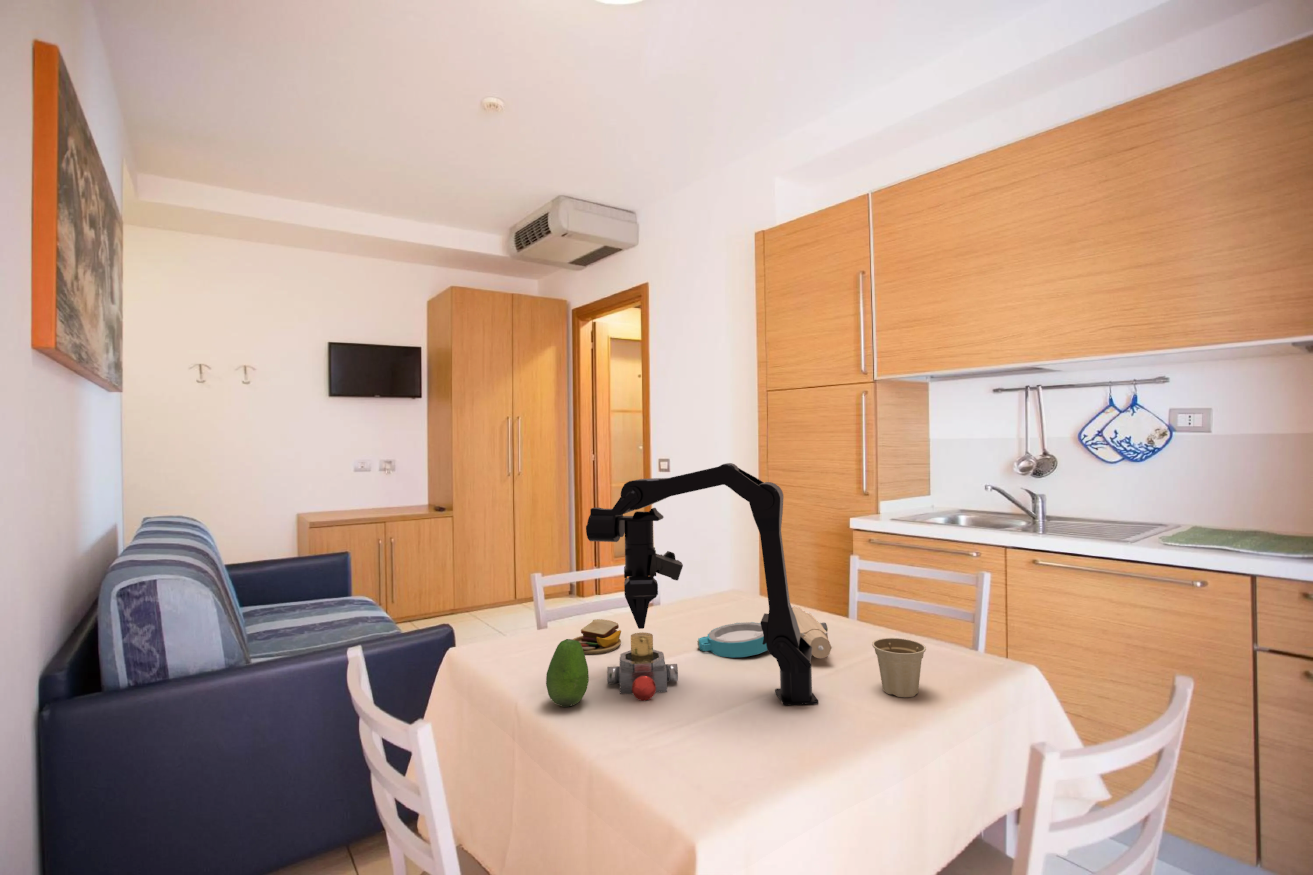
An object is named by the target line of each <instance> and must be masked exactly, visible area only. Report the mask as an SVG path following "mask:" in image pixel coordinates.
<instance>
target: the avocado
mask: <svg viewBox="0 0 1313 875" xmlns="http://www.w3.org/2000/svg"><path fill="white" fill-rule="evenodd" d="M573 639H574V638H566V639H564V640H562V641H560V642H559V643H558V644H557V646H556V648H555V651H554V653H553V655H552V657H551V659H550V662H549V665H548V667H547V671H546V676H545V677H546V678H545V684H546V690H547V695H548V697H549V698H550V700H551V701H552V702H553V703H554V704H556V705H557V706H559V707H572V706H575V705H577V704H578V703H579V702H580V701H582V700H583V697H584V696H585V695H586V692H587V690H588V686H589V678H590V677H589V666H588V662H587V659H586V654H584V651H583V648H582V646H581V643H580V642H579V641H576V640H573Z"/></svg>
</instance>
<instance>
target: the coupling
mask: <svg viewBox="0 0 1313 875" xmlns="http://www.w3.org/2000/svg"><path fill="white" fill-rule="evenodd" d="M653 636H654V634H653V633H650V632H643V631H642V632H635V633H632V634H631V635H630V650H631V661H633V662H650V661H653V650H654V637H653Z"/></svg>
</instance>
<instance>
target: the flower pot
mask: <svg viewBox="0 0 1313 875" xmlns="http://www.w3.org/2000/svg"><path fill="white" fill-rule="evenodd" d="M871 645H872V648H873V649H874V652H875V655H876V658H877V664H878V667H879V668H878V669H879V674H880V680H881V686H882V691H883V692H884V693H886V694H888V695H894V696H896V697H898V698H913V697H915V696H916V695H918V694H919V690H920V679H921V670H922V669H921V668H922V661H923V659H924V653H925V652H926V650H927V647H926V646H925V645H924V644H923V643H921V642H919V641H917V640H916V641H915V640H912V639H909V638H908V639H907V638H900V637H884V638H879V639H875V640H874V641H872V644H871Z"/></svg>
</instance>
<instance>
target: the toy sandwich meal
mask: <svg viewBox="0 0 1313 875" xmlns="http://www.w3.org/2000/svg"><path fill="white" fill-rule="evenodd" d="M580 633H581V634H582V635H580V636H576V637H575V638H572V639H573V640H576V641H579V642H580V643H581V646H582V648H583V651H584V655H599V654H607V653H610V652H612V651H614V650H617V649H618V647H619V646H620V645H621V643H622V640H621V639H620V637H621V633H622V630H621V629H619V623H618V622H616V621H614V620H608V619H601V618H599V619H593V620H592V622H590V623H588V624H587V625H586V626H584V627H583V628H582V629H580Z"/></svg>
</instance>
